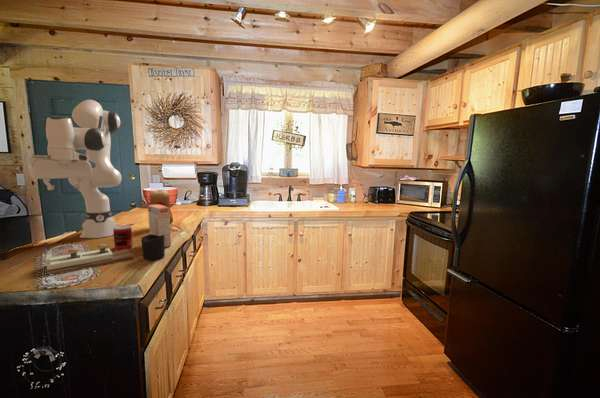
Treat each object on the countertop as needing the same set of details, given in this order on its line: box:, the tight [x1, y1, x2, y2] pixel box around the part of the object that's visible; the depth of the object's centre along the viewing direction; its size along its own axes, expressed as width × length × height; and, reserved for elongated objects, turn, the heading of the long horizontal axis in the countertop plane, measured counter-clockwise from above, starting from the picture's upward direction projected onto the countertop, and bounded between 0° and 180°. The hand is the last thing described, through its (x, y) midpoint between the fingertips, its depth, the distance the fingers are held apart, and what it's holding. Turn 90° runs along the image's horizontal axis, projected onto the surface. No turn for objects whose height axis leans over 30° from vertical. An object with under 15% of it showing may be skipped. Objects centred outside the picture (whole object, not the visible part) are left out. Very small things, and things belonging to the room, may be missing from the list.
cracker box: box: [147, 204, 172, 248], centre depth 145 cm, size 14×6×21 cm, turn 47°
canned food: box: [113, 224, 133, 251], centre depth 139 cm, size 8×8×11 cm
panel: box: [45, 247, 113, 271], centre depth 118 cm, size 10×22×4 cm, turn 132°
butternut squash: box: [149, 189, 174, 225], centre depth 177 cm, size 14×13×25 cm
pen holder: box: [140, 234, 166, 262], centre depth 127 cm, size 9×9×10 cm
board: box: [46, 243, 134, 276], centre depth 120 cm, size 14×29×7 cm, turn 132°
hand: (64, 189), depth 116 cm, fingers open, 8 cm apart
